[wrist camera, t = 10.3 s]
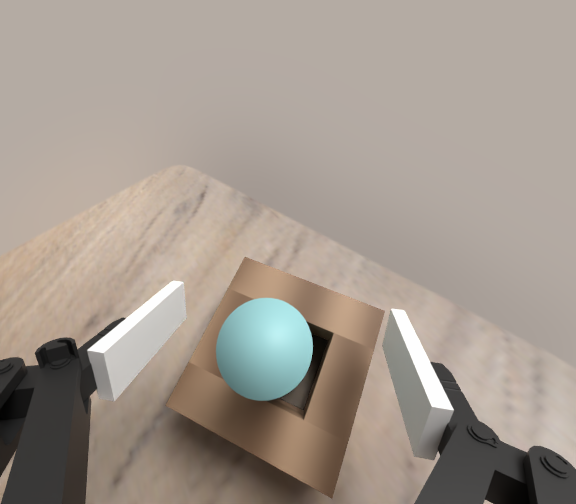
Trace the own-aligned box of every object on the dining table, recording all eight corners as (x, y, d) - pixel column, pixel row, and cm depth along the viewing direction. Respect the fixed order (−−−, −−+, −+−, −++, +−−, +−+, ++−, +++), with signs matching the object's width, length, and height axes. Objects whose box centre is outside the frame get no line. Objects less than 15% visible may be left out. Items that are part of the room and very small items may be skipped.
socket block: (193, 399, 23) (165, 405, 18) (254, 276, 27) (244, 256, 23) (325, 470, 20) (332, 498, 16) (369, 322, 25) (384, 311, 20)
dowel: (255, 373, 23) (197, 373, 11) (273, 330, 25) (243, 284, 12) (297, 394, 22) (289, 420, 10) (314, 348, 24) (326, 318, 11)
